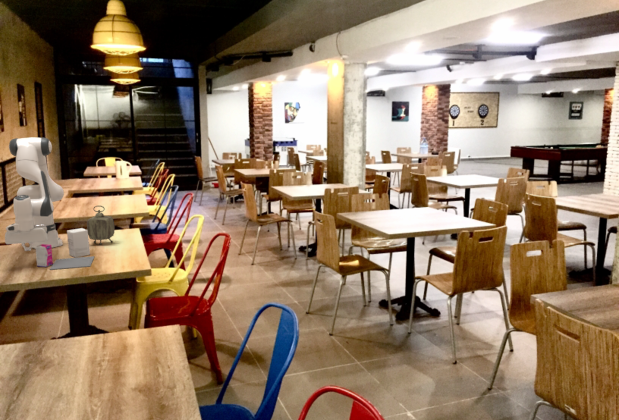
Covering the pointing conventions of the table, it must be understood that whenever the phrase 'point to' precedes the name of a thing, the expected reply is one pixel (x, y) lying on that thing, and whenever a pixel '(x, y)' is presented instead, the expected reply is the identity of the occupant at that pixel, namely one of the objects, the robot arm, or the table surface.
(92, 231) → the tabletop clock
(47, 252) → the supplement box
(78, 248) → the supplement box
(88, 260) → the mat
